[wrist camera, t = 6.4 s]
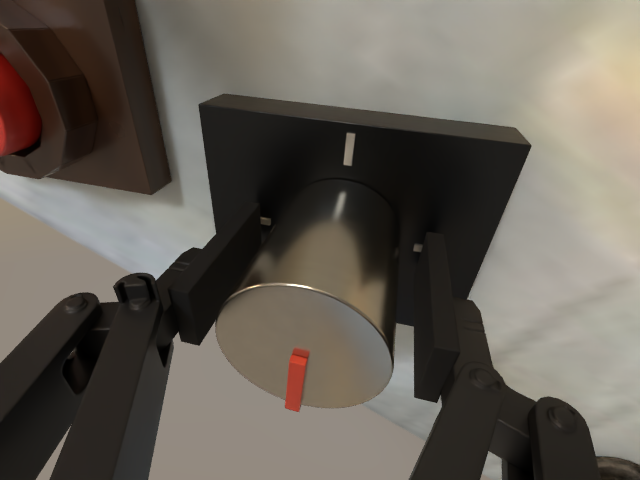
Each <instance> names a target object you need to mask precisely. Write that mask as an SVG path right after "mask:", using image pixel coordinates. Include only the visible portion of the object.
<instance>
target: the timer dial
mask: <svg viewBox="0 0 640 480" xmlns="http://www.w3.org/2000/svg"><path fill="white" fill-rule="evenodd" d="M400 240H401V231H400V225H399V221H398V219H397V216H396V214H395V212H394V211H393V209H392V207H391V206H390V205H389V204H388V202H387V201H386V200H385V199H384V198H383V197H382V196H381V195H379V194H378V193H377V192H375V191H374V190H372V189H370V188H369V187H367V186H365V185H362V184H360V183H357V182H353V181H349V180H342V179H330V180H323V181H319V182H315V183H313V184H310V185H308V186H306V187H305V188H303V189H302V190H300V191H299V192H298V193H297V194H296V195H295V196H294V197H293V198H292V199H291V201H290V202H289V204H288V205H287V207H286V208H285V210H284V211H283V213H282V214H281V216H280V217H279V219H278V220H277V222H276V223H275V225H274V226H273V228H272V229H271V231H270V233H269V234H268V236H267V237H266V239H265V240H264V242H263V243H262V245H261V246H260V248H259V249H258V251H257V252H256V254H255V255H254V257H253V258H252V260H251V261H250V263H249V265H248V266H247V268H246V269H245V271H244V272H243V274H242V275H241V277H240V278H239V280H238V281H237V283H236V284H235V286H234V287H233V289H232V290H231V292H230V293H229V295H228V296H227V298H226V300H225V301H224V303H223V304H222V306H221V307H220V309H219V311H218V314H217V318H216V326H215V327H216V337H217V340H218V343H219V346H220V348H221V350H222V352H223V354H224V355H225V357H226V358H227V360H228V361H229V362H230V363H231V365H232V366H233V367H234V368H235V369H236V370H237V371H238V372H239V373H240V374H241V375H242V376H244V377H245V378H246V379H247V380H248V381H250V382H251V383H253V384H254V385H256V386H258V387H259V388H261V389H263V390H264V391H266V392H268V393H270V394H272V395H274V396H276V397H279V398H281V399H284V400H285V408H286V409H289V410H293V411H297V412H299V411H300V407H301V405H305V406H311V407H318V408H344V407H350V406H354V405H358V404H361V403H364V402H366V401H369V400H370V399H372V398H374V397H375V396H377V395H378V394H379V393H380V392H382V391H383V389H384V388H385V387H386V386H387V384H388V382H389V381H390V379H391V377H392V373H393V369H394V351H395V333H396V314H397V296H398V277H399V259H400Z"/></svg>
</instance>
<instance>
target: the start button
mask: <svg viewBox="0 0 640 480" xmlns="http://www.w3.org/2000/svg"><path fill="white" fill-rule="evenodd" d="M41 131H42V119H41V116H40V114H39V111H38V109H37V106H36V104H35V101H34V99H33V96H32V94H31V91H30V89H29V87H28V85H27V84H26V83H25V82H24V80H23V79H22V78H21V77H20V75H19V74H18V73H17V72H16V70H15V69H14V68H13V67H12V65H11V64H10V63H9V62H8V60H7V59H6V58H5V57H4V55H3V54H1V53H0V157H2V156H5V155H8V154H11V153H14V152H17V151H19V150H22V149H25V148H28V147H30V146H32V145H34V144H35V143H36V142H37V141H38V139H39V137H40V135H41Z"/></svg>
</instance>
